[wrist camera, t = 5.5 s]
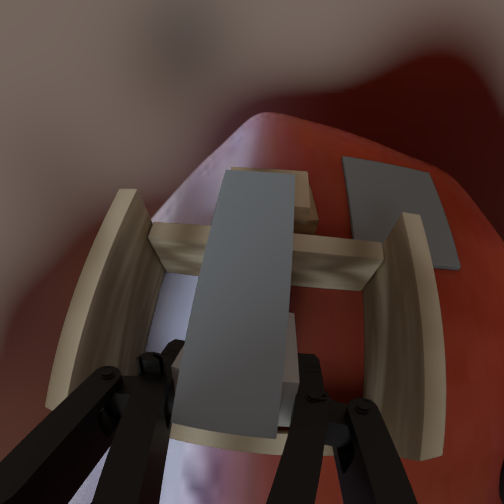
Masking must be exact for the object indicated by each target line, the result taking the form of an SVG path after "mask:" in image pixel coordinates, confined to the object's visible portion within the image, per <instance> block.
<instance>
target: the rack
mask: <svg viewBox="0 0 504 504" xmlns="http://www.w3.org/2000/svg"><path fill="white" fill-rule="evenodd" d="M210 228H211V226H204V225H191V224H177V223H163V222H154V223H152V221H151V219H150V217H149V215H148V213H147V210H146V208H145V206H144V204H143V201H142V199H141V197H140V194H139V192H138V190H137V189H119V191H118V193H117V195H116V197H115V199H114V201H113V203H112V205H111V207H110V209H109V211H108V213H107V215H106V217H105V219H104V221H103V224H102V226H101V228H100V230H99V232H98V234H97V237H96V239H95V241H94V244H93V246H92V248H91V250H90V253H89V255H88V258H87V260H86V263H85V265H84V268H83V270H82V273H81V275H80V278H79V281H78V283H77V286H76V289H75V292H74V295H73V298H72V301H71V304H70V307H69V310H68V313H67V316H66V319H65V323H64V326H63V329H62V333H61V336H60V340H59V344H58V348H57V352H56V356H55V360H54V364H53V369H52V373H51V378H50V383H49V388H48V393H47V399H46V405H45V407H47V408H48V409H50V410H52V411H53V410H54V409H55V408H56V407H57V406H58V405H59V404H60V403H61V402H62V401H63V400H64V399H65V398H66V397H68V396H69V395H70V394H71V393H72V392H73V391H74V390H75V389H76V388H77V387H78V386H79V385H80V384H81V383H82V382H83V381H84V380H85V379H87V378H88V377H89V376H90V375H91V374H92V373H93V372H94V371H95V370H96V369H98V368H99V367H103V366H114V367H116V368H118V369H119V370H120V371H121V375H123V376H138V369H137V363H136V358H137V357H138V356H139V355H141V354H143V353H145V348H146V344H147V340H148V335H149V331H150V327H151V323H152V319H153V315H154V311H155V307H156V303H157V299H158V295H159V292H160V288H161V284H162V281H163V277H164V274H165V270H166V272H170V273H178V274H186V275H195V276H199V274H200V269H201V265H202V261H203V256H204V252H205V248H206V244H207V240H208V236H209V232H210ZM291 285H292V286H303V287H315V288H327V289H340V290H353V291H361V290H362V289H363V306H364V392H363V398H366V399H369V400H371V401H373V402H374V403H375V404H376V405H377V406H378V408H379V411H380V413H381V415H382V417H383V420H384V422H385V424H386V427H387V429H388V431H389V433H390V436H391V438H392V441H393V443H394V445H395V448H396V450H397V452H398V455H399V457H401V458H406V459H411V460H417V461H422V460H426V459H431V458H434V457H438V456H442V453H443V443H444V432H445V416H446V366H445V349H444V337H443V327H442V318H441V311H440V304H439V297H438V291H437V285H436V280H435V274H434V269H433V264H432V260H431V255H430V251H429V247H428V243H427V239H426V235H425V231H424V227H423V223H422V220H421V216H420V215H417V214H411V213H405V212H402V213H401V215H400V217H399V218H398V220H397V222H396V223H395V225H394V227H393V228H392V230H391V232H390V233H389V235H388V237H387V238H386V240H385V241H384V243H383V245H382V243H380V242H372V241H363V240H354V239H345V238H335V237H326V236H316V235H306V234H296V233H293V251H292V270H291ZM288 432H289V430H277V437H276V439H269V438H258V437H248V436H240V435H233V434H226V433H219V432H213V431H208V430H202V429H197V428H192V427H187V426H183V425H178V424H174V423H172V426H171V432H170V438H171V439H175V440H179V441H184V442H188V443H193V444H198V445H203V446H209V447H214V448H220V449H227V450H234V451H242V452H251V453H261V454H274V455H282V453H283V450H284V446H285V443H286V439H287V436H288ZM331 455H334V453H333V449H332V446H328V445H324V452H323V456H331Z"/></svg>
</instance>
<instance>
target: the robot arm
mask: <svg viewBox="0 0 504 504" xmlns="http://www.w3.org/2000/svg"><path fill="white" fill-rule="evenodd" d="M184 344H185V341H183V340H177V339H175V340H173V341H171V342H170V343H168V344H167V346H166V347H165V349H164V350H163V351H162V353H161V354H159V353H155V352H147V353H143V354H141V355H139V356H138V357H137V358H136V363H137V369H138V376H123V375H121V371H120V370H119V369H118V368H116V367H114V366H103V367H99V368H98V369H96V370H95V371H94V372H93V373H92V374H91V375H90V376H89V377H88V378H87V379H85V380H84V381H83V382H82V383H81V384H80V385H79V386H78V387H77V388H76V389H75V390H74V391H73V392H72V393H71V394H70V395H69V396H68V397H66V398H65V399H64V400H63V401H62V402H61V403H60V404H59V405H58V406H57V407H56V408H55V409H54V410H53V411H52V412H51V413H50V414H49V415H48V416H47V417H46V418H45V419H44V420H43V421H42V422H41V423H39V424H38V425H37V426H36V427H35V428H34V429H33V430H32V431H31V432H30V433H29V434H28V435H27V436H26V437H25V438H24V439H23V440H22V441H21V442H20V443H19V444H18V445H17V446H16V447H15V448H14V449H13V450H12V451H11V452H10V453H9V454H8V455H7V456H6V457H5V458H4V459H3V460H2V461H1V462H0V504H68V503H69V501H70V500H71V499H72V497H73V496H74V495H75V493H76V492H77V491H78V489H79V488H80V486H81V485H82V484H83V482H84V481H85V480H86V478H87V477H88V476H89V474H90V473H91V471H92V470H93V469H94V467H95V466H96V465H97V463H98V462H99V461H100V459H101V458H102V456H103V455H104V454H105V452H106V451H107V450H108V448H109V447H110V449H109V452H108V455H107V458H106V461H105V464H104V467H103V470H102V473H101V476H100V479H99V482H98V485H97V488H96V491H95V494H94V498H93V501H92V503H91V504H159V501H160V494H161V487H162V480H163V474H164V467H165V461H166V455H167V449H168V443H169V438H170V432H171V426H172V423H171V417H172V410H173V404H174V398H175V393H176V387H177V381H178V376H179V370H180V365H181V359H182V354H183V349H184ZM290 423H291V425H290ZM278 426H283V427H290V428H289V432H288V436H287V439H286V443H285V446H284V450H283V453H282V456H281V460H280V463H279V466H278V469H277V472H276V476H275V479H274V482H273V485H272V488H271V491H270V494H269V497H268V499H267V502H266V504H314V503H315V498H316V493H317V488H318V482H319V477H320V471H321V465H322V458H323V452H324V445H328V446H332V449H333V453H334V458H335V463H336V468H337V473H338V478H339V483H340V488H341V493H342V498H343V503H344V504H418V503H417V501H416V498H415V495H414V493H413V490H412V487H411V485H410V482H409V480H408V477H407V475H406V472H405V470H404V467H403V465H402V462H401V460H400V457H399V455H398V452H397V450H396V448H395V445H394V443H393V441H392V438H391V436H390V433H389V431H388V429H387V427H386V424H385V422H384V420H383V417H382V415H381V413H380V411H379V408H378V406H377V405H376V404H375V403H374V402H373V401H371V400H369V399H366V398H356V399H353V400H351V401H350V402H349V404H344V403H339V402H336V401H334V400H332V399H330V398H329V395H328V394H327V392H326V391H325V390H324V385H323V379H322V373H321V368H320V362H319V359H318V358H317V357H316V356H315V355H314V354H300V353H297V341H296V328H295V316H294V313H289V316H288V329H287V341H286V353H285V364H284V374H283V384H282V394H281V403H280V412H279V421H278ZM110 445H111V446H110ZM500 498H501V501H502V503H503V504H504V464H503V468H502V473H501V479H500Z"/></svg>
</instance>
